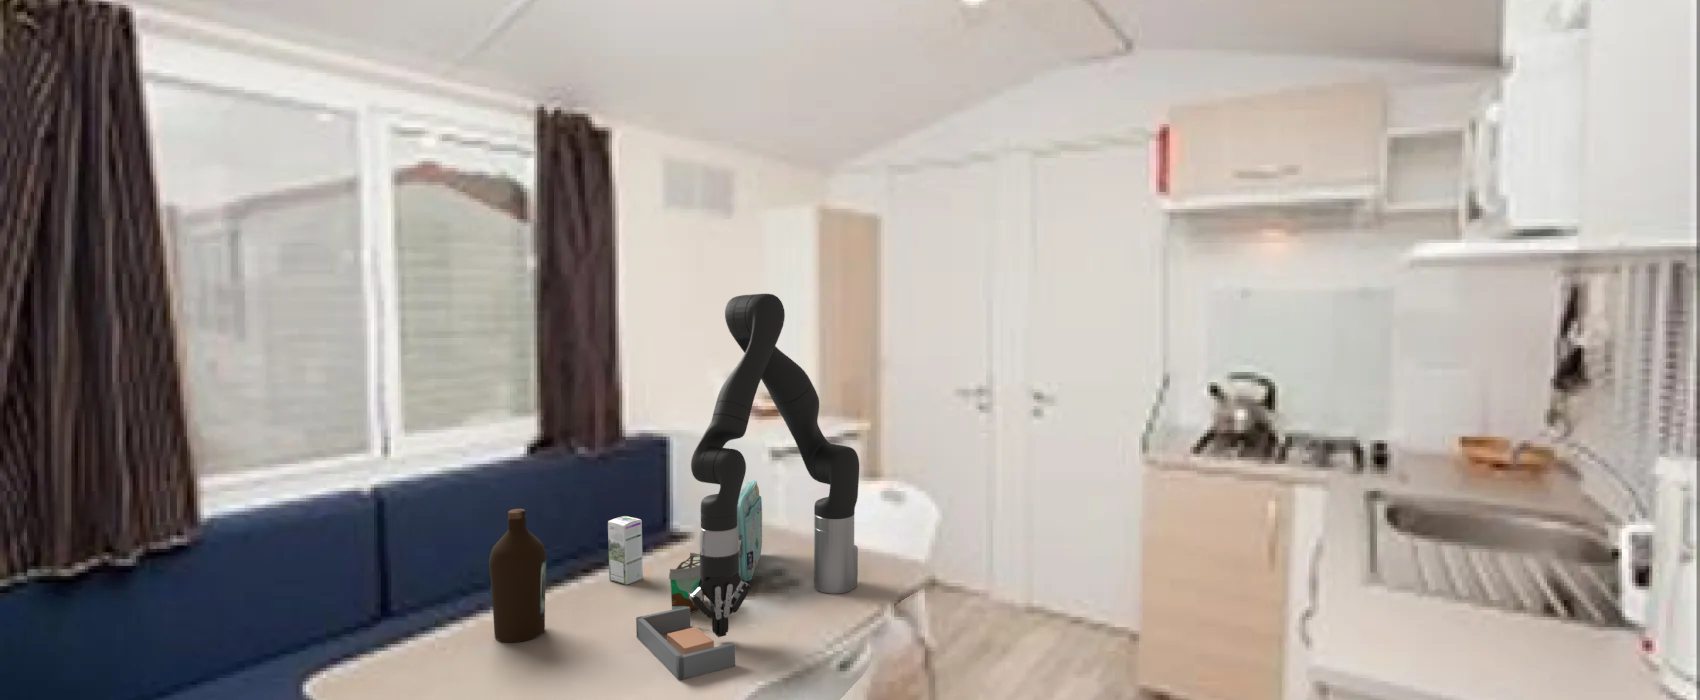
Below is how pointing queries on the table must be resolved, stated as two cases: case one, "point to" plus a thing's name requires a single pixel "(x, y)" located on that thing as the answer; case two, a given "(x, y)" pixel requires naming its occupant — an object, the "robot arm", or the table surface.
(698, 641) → the tile
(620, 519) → the syrup box
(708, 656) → the box
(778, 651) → the table surface
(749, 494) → the lunch box
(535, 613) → the olive oil
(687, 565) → the food container
